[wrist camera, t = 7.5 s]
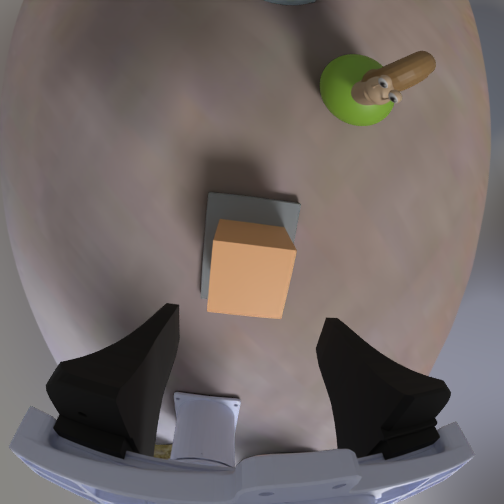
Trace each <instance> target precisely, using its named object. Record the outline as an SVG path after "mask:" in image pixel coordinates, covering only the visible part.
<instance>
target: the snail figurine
mask: <svg viewBox="0 0 504 504" xmlns="http://www.w3.org/2000/svg"><path fill="white" fill-rule="evenodd" d="M435 67H436V62H435V59H434V57H433V56H432V55H431V54H430V53H428V52H426V51H418V52H415V53H413V54H411V55H409V56H407V57H404V58H402V59H400V60H397V61H395V62H393V63H391V64H388V65H386V66H384V67H383V66H382V65H381V64H379V63H378V62H377V61H375V60H373V59H371V58H369V57H367V56H363V55H358V54H348V55H343V56H340V57H338V58H336V59H334V60H333V61H331V62H330V63H329V64H328V65H327V66H326V67H325V69H324V71H323V73H322V75H321V79H320V93H321V97H322V99H323V102H324V104H325V105H326V107H327V108H328V109H329V111H330V112H331V113H332V114H333V115H334V116H336V117H337V118H338V119H340V120H342V121H344V122H346V123H348V124H352V125H356V126H368V125H373V124H376V123H378V122H380V121H381V120H383V119H384V118H385V117H386V116H387V115H388V114H389V113H390V112H391V110H392V108H393V106H394V103H399V102H400V101H401V100H402V95H401V93H400V91H403V90H405V89H407V88H410V87H412V86H414V85H416V84H417V83H419V82H421V81H423V80H424V79H425V78H427V77H428V75H429V74H430V73H432V72H433V71H434V69H435Z"/></svg>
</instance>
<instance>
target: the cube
mask: <svg viewBox="0 0 504 504" xmlns="http://www.w3.org/2000/svg"><path fill="white" fill-rule="evenodd" d="M296 252H297V250H296V248H295V246H294V244H293V242H292V240H291V239H290V237H289V235H288V233H287V231H286V229H285V227H279V226H272V225H264V224H257V223H249V222H241V221H233V220H225V219H220V220H219V223H218V226H217V230H216V233H215V236H214V240H213V248H212V259H211V269H210V281H209V293H208V306H207V312H215V313H224V314H233V315H242V316H252V317H263V318H275V319H281V318H282V313H283V309H284V305H285V301H286V297H287V292H288V288H289V284H290V279H291V275H292V271H293V266H294V262H295V257H296Z"/></svg>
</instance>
